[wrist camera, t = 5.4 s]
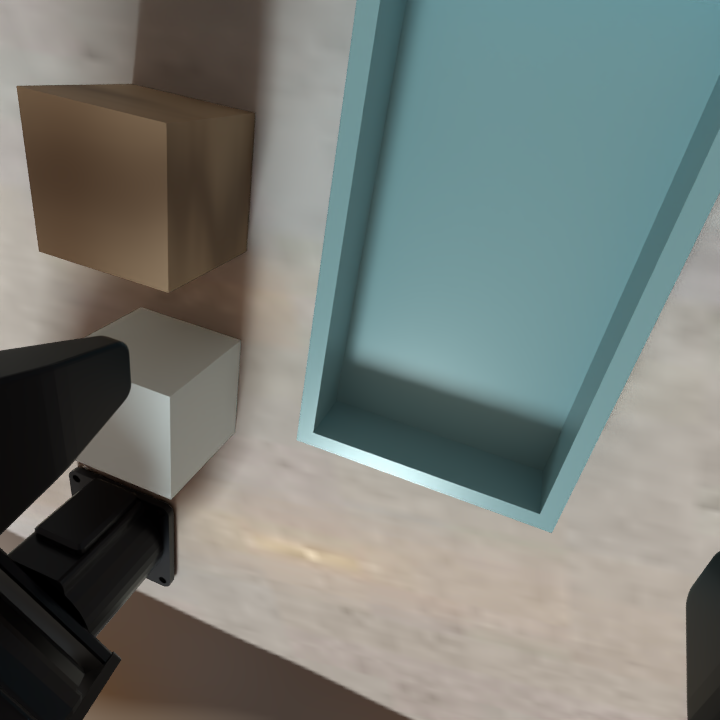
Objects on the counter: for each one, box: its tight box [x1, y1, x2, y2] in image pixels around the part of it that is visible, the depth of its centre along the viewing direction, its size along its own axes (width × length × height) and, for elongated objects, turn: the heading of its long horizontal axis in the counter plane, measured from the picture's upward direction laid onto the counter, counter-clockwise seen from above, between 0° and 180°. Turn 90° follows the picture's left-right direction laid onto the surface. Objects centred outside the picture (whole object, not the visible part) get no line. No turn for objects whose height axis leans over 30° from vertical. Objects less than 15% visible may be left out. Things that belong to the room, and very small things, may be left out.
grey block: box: [76, 307, 241, 500], centre depth 23 cm, size 5×5×5 cm
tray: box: [297, 0, 720, 533], centre depth 17 cm, size 16×10×3 cm, turn 170°
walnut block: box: [17, 84, 255, 293], centre depth 19 cm, size 5×5×5 cm
